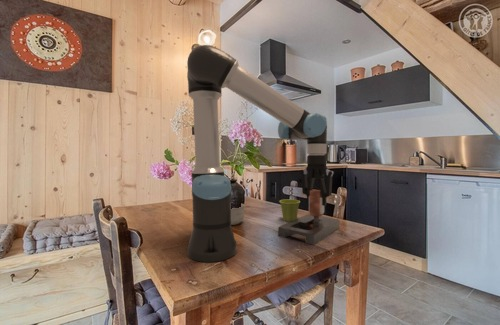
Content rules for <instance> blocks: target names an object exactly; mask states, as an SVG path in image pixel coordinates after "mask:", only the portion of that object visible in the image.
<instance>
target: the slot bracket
mask: <svg viewBox="0 0 500 325" xmlns="http://www.w3.org/2000/svg"><path fill="white" fill-rule="evenodd" d="M311 223H314V216H310V213H309V214H306V215H303V216H301V217H297V219H296V220H293V221H288V222H287V223H284V224H282V225H279V226H278V227H277V235H278V237H281V238H284V239H285V238H287V237H290V236H292V235H293V234H294V235H297V236H302V237H305V244H309V245H313V246H315V245H316V244H317V243H319V242H320V241H322V240H323V239H325V238H327V237H328V236H329V235H331V234H332V233H335V231H337V230H338V229H340V219H338V218H332V217H326V216H320V217H319V221H318V222H316V223H315V224H313V228H314V229H310V230H308V229H306V228H307V227H309V224H311Z"/></svg>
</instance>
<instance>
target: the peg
mask: <svg viewBox="0 0 500 325" xmlns="http://www.w3.org/2000/svg"><path fill="white" fill-rule="evenodd" d="M321 196H322V195H321V190H320V189H313V190H311V191H310V212H309V215H310V216H314V223H311V224H309V226H308V227H309V229H310V230H312V229H314V228H313V224H315V223H316V222H318V221H319V217H320V216H321V217H323V216H324V213H323V214H320V197H321Z"/></svg>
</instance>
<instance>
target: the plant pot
mask: <svg viewBox="0 0 500 325" xmlns="http://www.w3.org/2000/svg"><path fill="white" fill-rule="evenodd" d="M279 203H280V207H281V213H282V214H281V215H282V219H283V220H284V221H286V222H291V221H293V220H296V219H298V212H299V206H300V203H301V201H300V199H299V200H298V199H290V198H289V199H286V198H285V199H280V200H279Z"/></svg>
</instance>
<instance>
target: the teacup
mask: <svg viewBox="0 0 500 325" xmlns="http://www.w3.org/2000/svg"><path fill="white" fill-rule="evenodd" d="M244 218H245V204H244V203H241V207H239V208H232V209H231V226H235V225H239V224H240V223H241V222H242V221H243V220H244Z"/></svg>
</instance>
